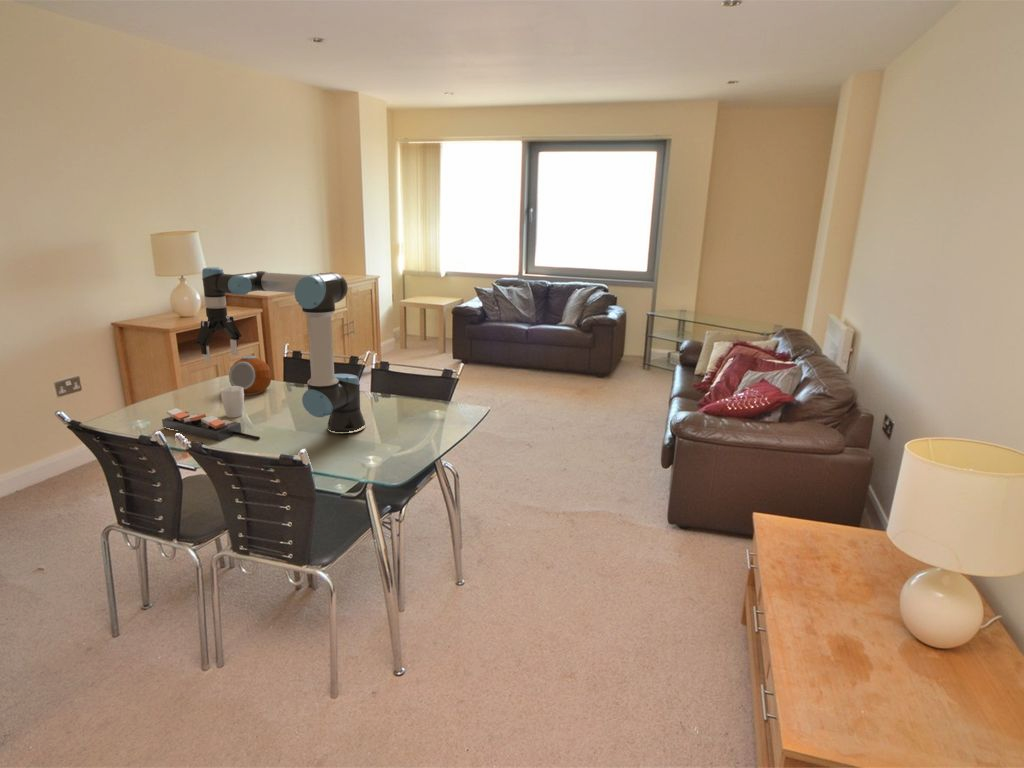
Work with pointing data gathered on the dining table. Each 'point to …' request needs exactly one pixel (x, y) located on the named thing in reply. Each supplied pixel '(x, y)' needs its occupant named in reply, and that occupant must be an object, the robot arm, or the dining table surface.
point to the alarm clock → (250, 375)
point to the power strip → (205, 428)
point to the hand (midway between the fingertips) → (221, 358)
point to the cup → (233, 400)
